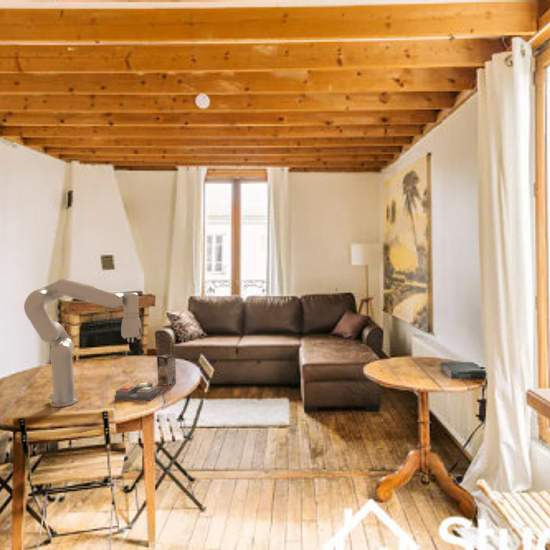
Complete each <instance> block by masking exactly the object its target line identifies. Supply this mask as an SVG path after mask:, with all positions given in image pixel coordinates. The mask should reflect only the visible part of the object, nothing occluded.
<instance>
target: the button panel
mask: <svg viewBox="0 0 550 550" xmlns="http://www.w3.org/2000/svg"><path fill="white" fill-rule="evenodd" d="M140 383H141V382H139V383H138V384H140ZM147 383H148V385H147V386H145V387H151V390H150V391H142V388H145V387H142V386H139V385H138V384H136V385H134V386H130V387H131V389H129V390H128V391H122V390H121V388H122V387H127V386H128V385H126V386H122V387H120V388H118V389H116V390H115V395H114V400H116V401H134V400H145V401H144V402H151V401H153V400H154V399H155V398H157V397H158V396H159V395H161V394H162V393H163V392H162V391H164V392H165V387H157V386H156V387H155V386H154V385H153V382H147ZM161 392H162V393H161ZM160 393H161V394H160ZM158 394H159V395H158ZM157 395H158V396H157ZM156 396H157V397H156ZM153 398H154V399H153ZM150 400H151V401H150Z"/></svg>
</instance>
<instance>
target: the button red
mask: <svg viewBox="0 0 550 550" xmlns="http://www.w3.org/2000/svg"><path fill="white" fill-rule="evenodd" d="M126 386H127V387H123V386H122V387H120V388H121V390H122V391H128V390H129V389H131V386H128V385H126Z"/></svg>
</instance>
